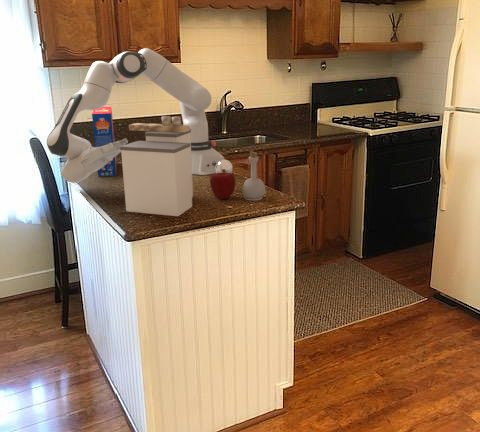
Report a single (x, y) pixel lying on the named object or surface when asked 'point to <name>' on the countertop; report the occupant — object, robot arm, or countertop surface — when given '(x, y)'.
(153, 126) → the serving board
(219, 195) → the apple
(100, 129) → the pasta box
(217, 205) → the countertop surface
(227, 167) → the light bulb
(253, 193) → the potion bottle
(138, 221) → the countertop surface
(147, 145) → the counter block
